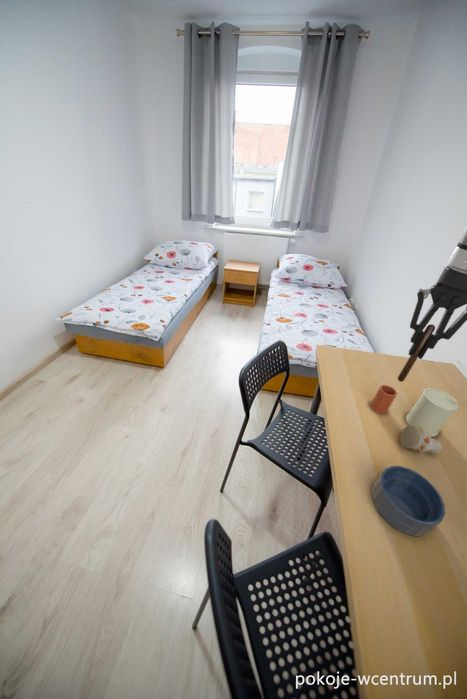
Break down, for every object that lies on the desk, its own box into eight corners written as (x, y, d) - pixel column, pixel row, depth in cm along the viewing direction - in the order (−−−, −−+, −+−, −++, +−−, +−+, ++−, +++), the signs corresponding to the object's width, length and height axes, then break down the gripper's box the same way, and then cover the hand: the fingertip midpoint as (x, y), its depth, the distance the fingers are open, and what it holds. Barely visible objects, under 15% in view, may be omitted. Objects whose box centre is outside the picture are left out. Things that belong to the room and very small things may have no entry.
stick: (403, 380, 81) (436, 324, 70) (402, 383, 80) (436, 327, 69) (396, 378, 82) (428, 322, 71) (396, 381, 80) (428, 324, 70)
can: (441, 440, 83) (464, 413, 76) (408, 430, 85) (428, 402, 78) (434, 418, 90) (454, 392, 83) (403, 410, 92) (421, 383, 85)
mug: (443, 463, 76) (446, 445, 70) (402, 460, 81) (401, 444, 75) (437, 438, 81) (439, 420, 75) (399, 436, 86) (398, 419, 80)
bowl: (430, 498, 67) (444, 485, 64) (431, 550, 58) (446, 538, 54) (375, 470, 72) (384, 456, 69) (366, 513, 63) (377, 500, 59)
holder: (387, 406, 93) (397, 389, 88) (385, 416, 89) (396, 398, 84) (371, 400, 95) (381, 382, 90) (369, 409, 91) (379, 391, 86)
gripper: (427, 264, 62) (384, 350, 75) (508, 283, 56) (446, 372, 70) (428, 258, 68) (388, 339, 81) (502, 274, 62) (445, 359, 75)
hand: (415, 354), depth 75 cm, fingers closed on stick, 2 cm apart
